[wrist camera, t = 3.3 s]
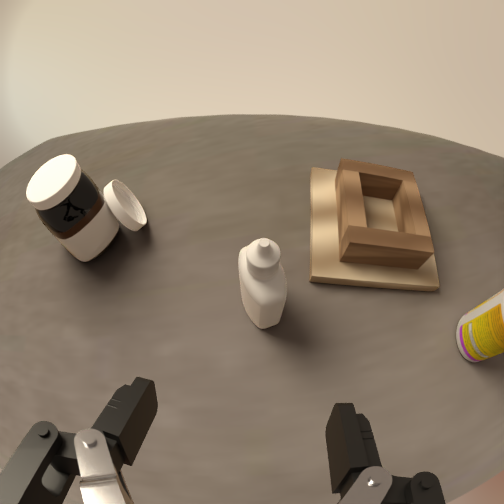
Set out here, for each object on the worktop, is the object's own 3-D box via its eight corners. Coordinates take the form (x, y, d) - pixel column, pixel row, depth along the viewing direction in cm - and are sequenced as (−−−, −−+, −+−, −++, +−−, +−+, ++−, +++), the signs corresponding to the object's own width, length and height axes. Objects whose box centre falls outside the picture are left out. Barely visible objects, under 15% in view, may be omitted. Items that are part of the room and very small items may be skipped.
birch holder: (433, 291, 29) (457, 271, 25) (309, 281, 30) (319, 257, 26) (412, 191, 37) (426, 166, 32) (310, 174, 38) (316, 144, 33)
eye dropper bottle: (234, 326, 28) (223, 276, 18) (243, 276, 31) (238, 205, 20) (277, 332, 28) (293, 286, 17) (284, 281, 30) (299, 212, 20)
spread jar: (58, 238, 34) (14, 185, 23) (111, 184, 38) (82, 124, 28) (101, 287, 30) (47, 233, 20) (163, 220, 35) (135, 150, 24)
